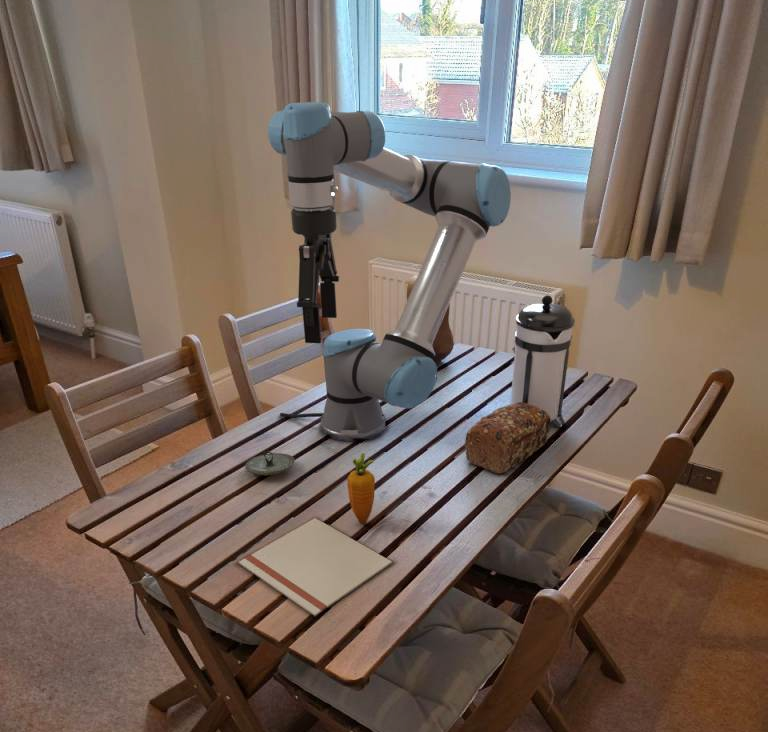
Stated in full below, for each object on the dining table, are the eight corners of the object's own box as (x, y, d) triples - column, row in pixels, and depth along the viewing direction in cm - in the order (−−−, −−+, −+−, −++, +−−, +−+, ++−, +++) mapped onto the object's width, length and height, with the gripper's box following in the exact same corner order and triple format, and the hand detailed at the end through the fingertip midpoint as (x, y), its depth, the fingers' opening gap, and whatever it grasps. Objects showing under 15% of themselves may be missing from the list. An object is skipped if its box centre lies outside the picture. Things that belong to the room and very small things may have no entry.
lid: (267, 493, 143) (270, 474, 140) (234, 469, 147) (236, 450, 144) (302, 473, 151) (305, 455, 148) (269, 450, 154) (272, 432, 151)
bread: (502, 478, 144) (505, 435, 138) (461, 461, 150) (463, 420, 145) (550, 445, 155) (555, 405, 150) (510, 430, 161) (513, 391, 156)
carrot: (361, 513, 134) (358, 446, 126) (381, 523, 131) (379, 454, 123) (344, 525, 130) (340, 456, 123) (364, 535, 128) (361, 465, 120)
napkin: (238, 563, 121) (238, 561, 121) (315, 519, 132) (315, 517, 132) (315, 616, 110) (314, 614, 109) (391, 563, 121) (391, 561, 120)
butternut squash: (429, 350, 206) (431, 265, 193) (462, 362, 197) (465, 274, 184) (394, 362, 198) (393, 275, 185) (426, 376, 190) (427, 285, 176)
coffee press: (579, 415, 167) (597, 292, 152) (545, 439, 157) (560, 310, 142) (518, 396, 177) (529, 279, 162) (482, 417, 167) (490, 295, 152)
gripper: (318, 223, 105) (327, 355, 116) (348, 194, 126) (353, 308, 137) (270, 222, 106) (284, 353, 117) (308, 194, 127) (317, 307, 138)
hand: (321, 329), depth 127 cm, fingers open, 13 cm apart
